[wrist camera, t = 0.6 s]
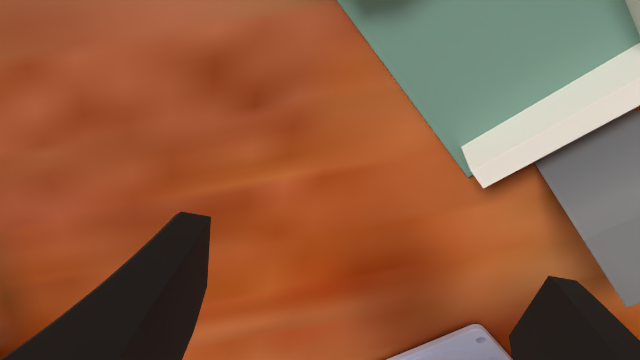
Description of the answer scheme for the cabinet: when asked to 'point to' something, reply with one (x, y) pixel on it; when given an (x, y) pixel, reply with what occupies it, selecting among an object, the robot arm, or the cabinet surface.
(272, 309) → the cabinet surface
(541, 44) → the frame
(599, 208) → the plug
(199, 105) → the cabinet surface
